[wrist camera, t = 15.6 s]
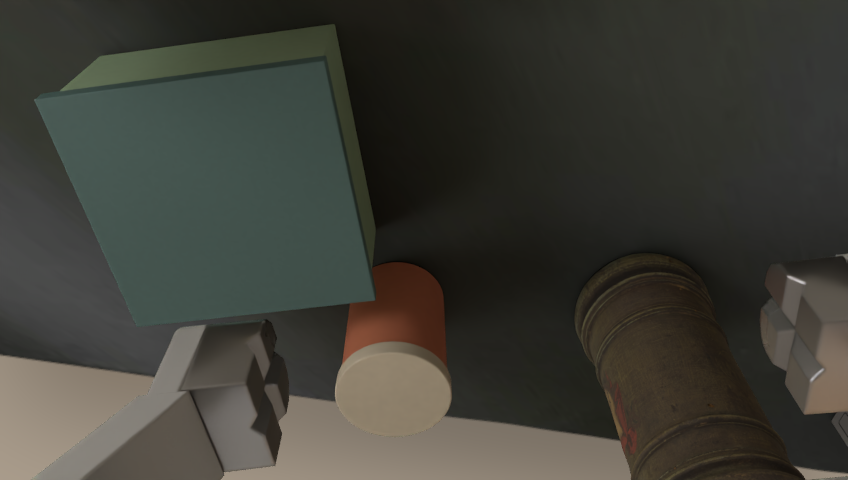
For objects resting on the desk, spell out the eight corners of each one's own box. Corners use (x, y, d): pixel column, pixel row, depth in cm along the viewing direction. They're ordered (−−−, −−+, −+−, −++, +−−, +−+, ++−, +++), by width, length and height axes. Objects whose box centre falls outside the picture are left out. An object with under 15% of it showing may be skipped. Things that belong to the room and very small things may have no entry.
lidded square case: (339, 17, 38) (324, 60, 32) (381, 233, 45) (375, 300, 39) (92, 51, 39) (33, 99, 33) (172, 257, 46) (136, 327, 40)
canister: (440, 253, 46) (444, 346, 39) (452, 332, 50) (457, 431, 42) (339, 265, 47) (323, 359, 39) (358, 342, 50) (347, 442, 43)
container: (627, 229, 45) (733, 456, 30) (734, 286, 48) (882, 522, 33) (545, 326, 49) (602, 568, 34) (648, 374, 52) (743, 619, 37)
